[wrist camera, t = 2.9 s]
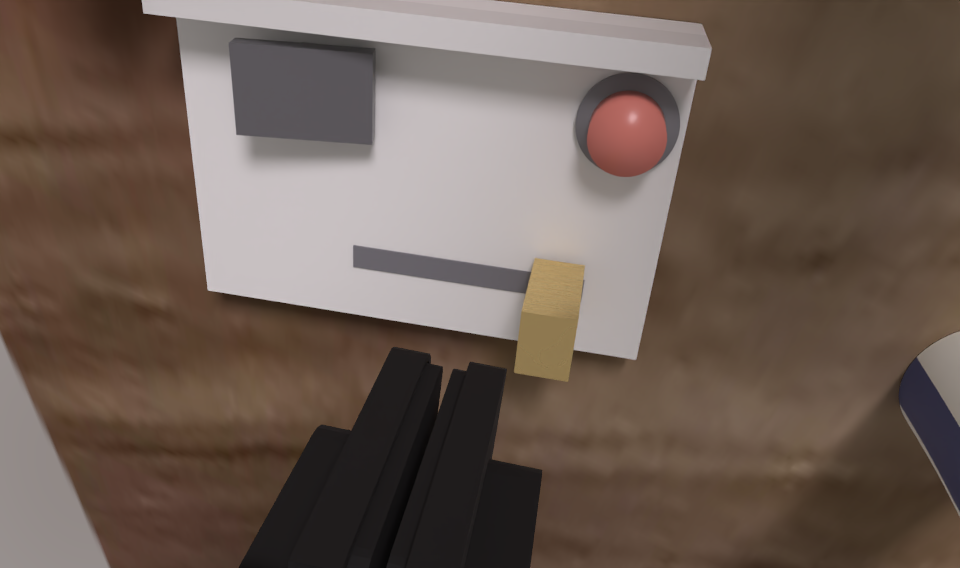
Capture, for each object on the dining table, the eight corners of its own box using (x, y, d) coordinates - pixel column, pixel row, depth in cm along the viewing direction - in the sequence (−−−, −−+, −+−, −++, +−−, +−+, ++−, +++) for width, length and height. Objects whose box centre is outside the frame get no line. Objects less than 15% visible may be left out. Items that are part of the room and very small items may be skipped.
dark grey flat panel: (375, 48, 33) (372, 53, 32) (374, 137, 35) (372, 145, 34) (235, 37, 33) (228, 42, 32) (242, 127, 35) (236, 135, 34)
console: (702, 23, 33) (711, 48, 29) (636, 333, 41) (635, 389, 37) (199, -33, 36) (139, -18, 31) (229, 268, 44) (184, 314, 39)
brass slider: (585, 265, 36) (578, 320, 32) (575, 322, 38) (567, 381, 34) (534, 257, 37) (521, 311, 32) (527, 314, 38) (514, 372, 34)
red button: (672, 95, 32) (674, 106, 30) (657, 168, 33) (658, 182, 32) (595, 85, 32) (593, 96, 31) (583, 158, 34) (581, 171, 32)
